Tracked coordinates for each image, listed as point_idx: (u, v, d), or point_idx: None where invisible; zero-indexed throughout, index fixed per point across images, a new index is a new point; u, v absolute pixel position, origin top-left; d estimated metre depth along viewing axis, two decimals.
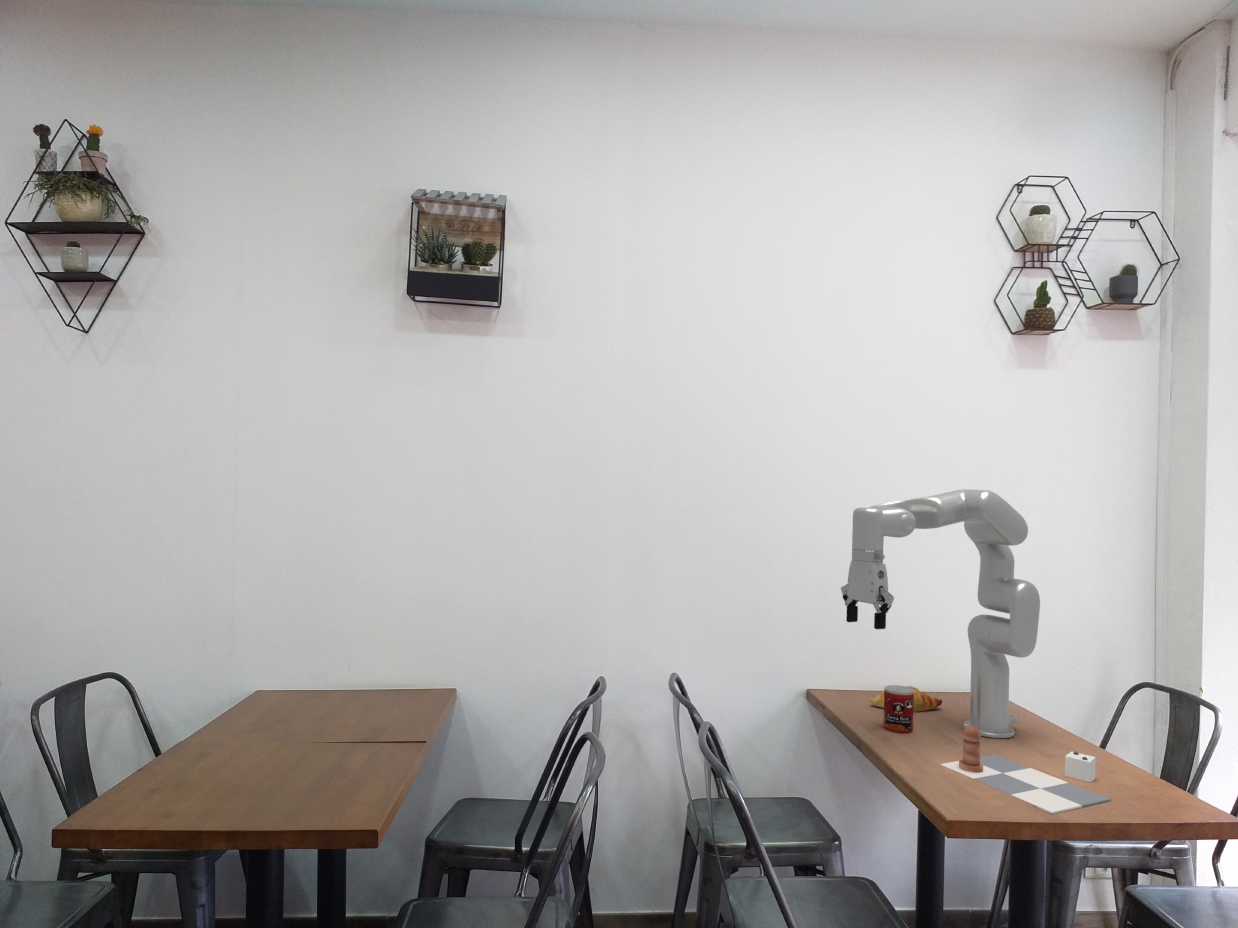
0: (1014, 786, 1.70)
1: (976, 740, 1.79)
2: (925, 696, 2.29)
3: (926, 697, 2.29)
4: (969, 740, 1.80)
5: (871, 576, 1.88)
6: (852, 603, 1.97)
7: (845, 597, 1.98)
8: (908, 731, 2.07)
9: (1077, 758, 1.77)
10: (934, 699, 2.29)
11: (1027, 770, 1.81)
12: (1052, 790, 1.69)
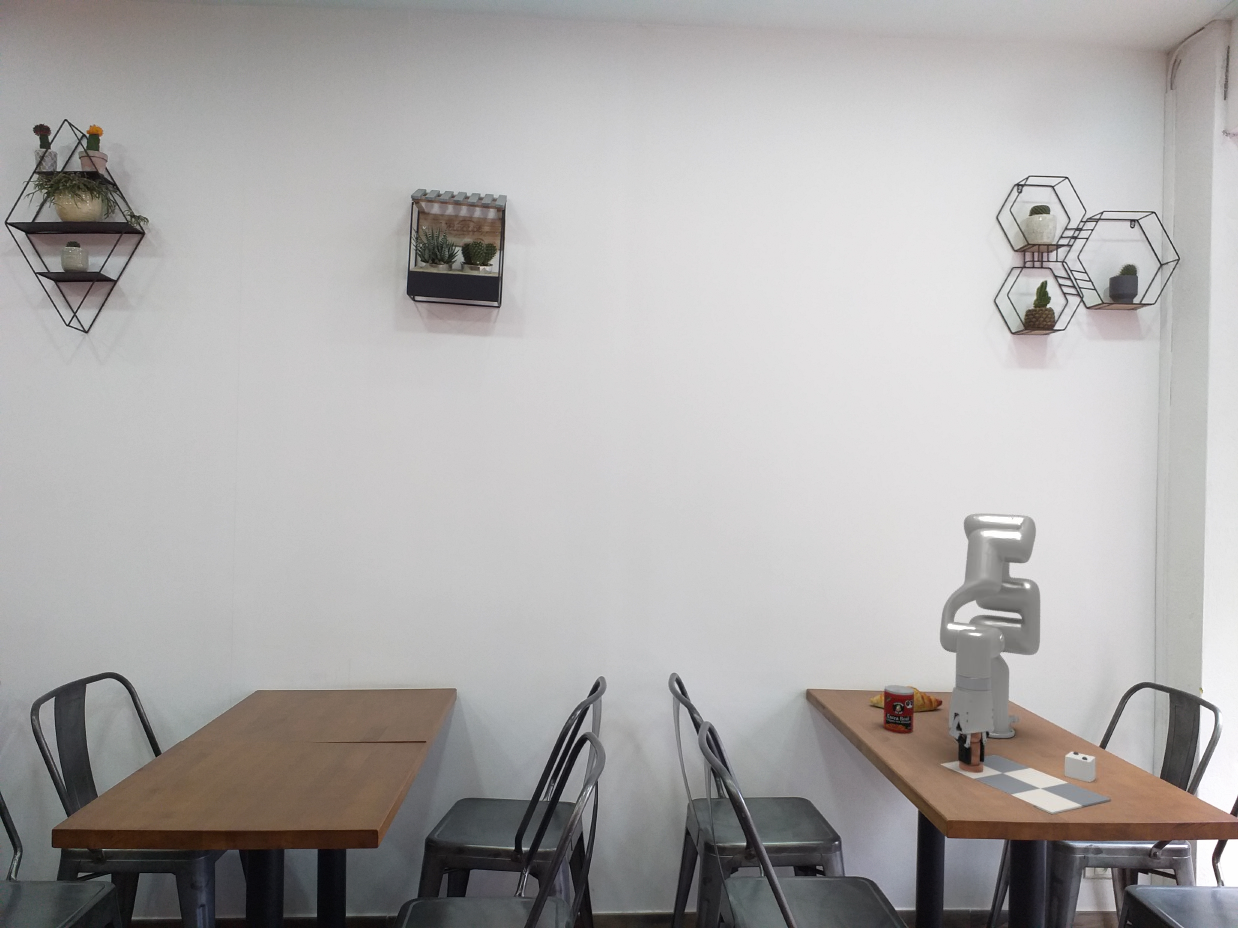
0: (1014, 786, 1.70)
1: (976, 740, 1.79)
2: (925, 696, 2.29)
3: (926, 697, 2.28)
4: None
5: (991, 702, 1.81)
6: None
7: (962, 738, 1.78)
8: (908, 731, 2.07)
9: (1077, 758, 1.77)
10: (934, 699, 2.29)
11: (1027, 770, 1.81)
12: (1052, 790, 1.69)
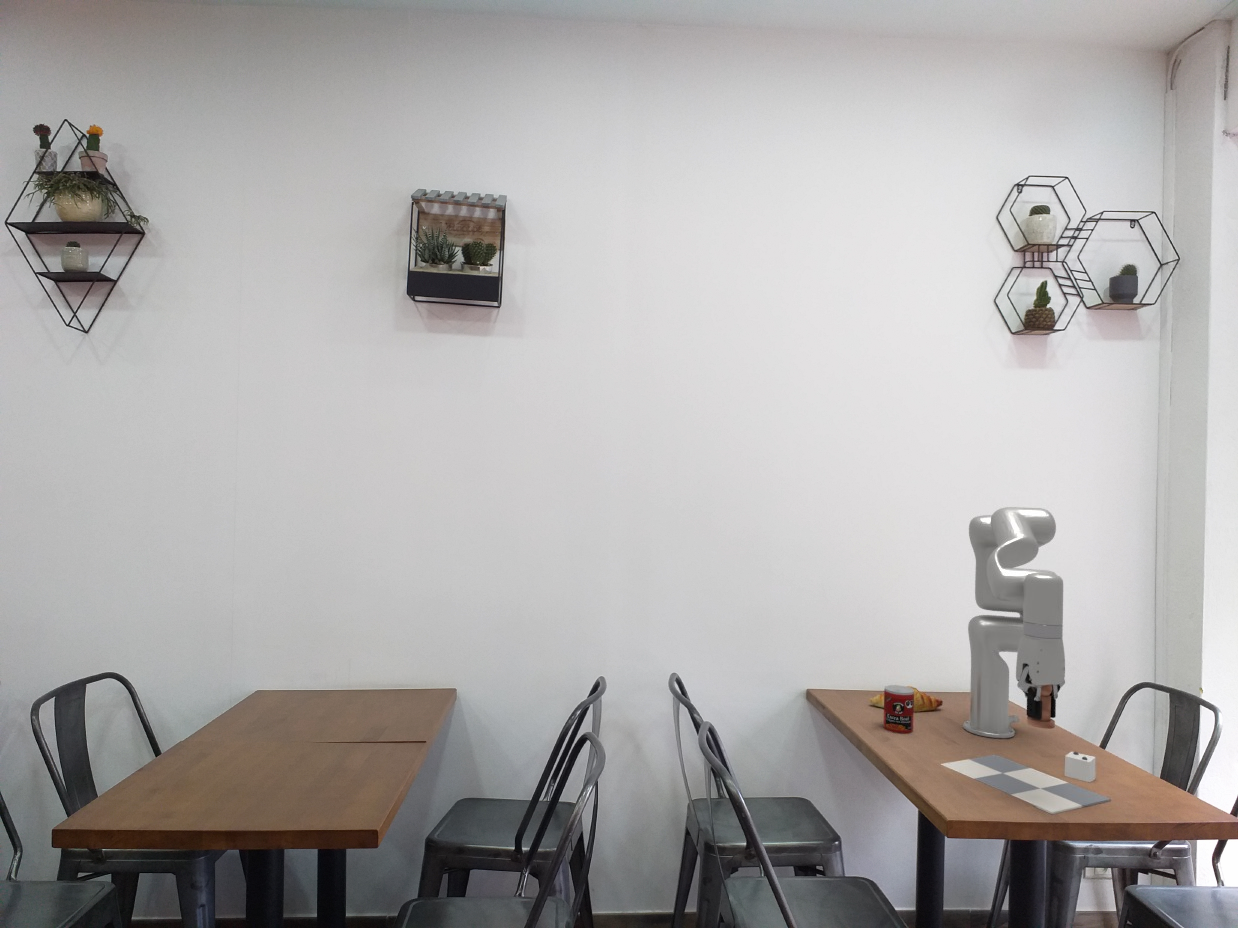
0: (1014, 786, 1.70)
1: (1047, 693, 1.64)
2: (925, 696, 2.28)
3: (926, 697, 2.28)
4: None
5: (1063, 652, 1.65)
6: None
7: (1032, 691, 1.63)
8: (908, 731, 2.07)
9: (1077, 758, 1.77)
10: (934, 700, 2.29)
11: (1027, 770, 1.81)
12: (1052, 790, 1.69)
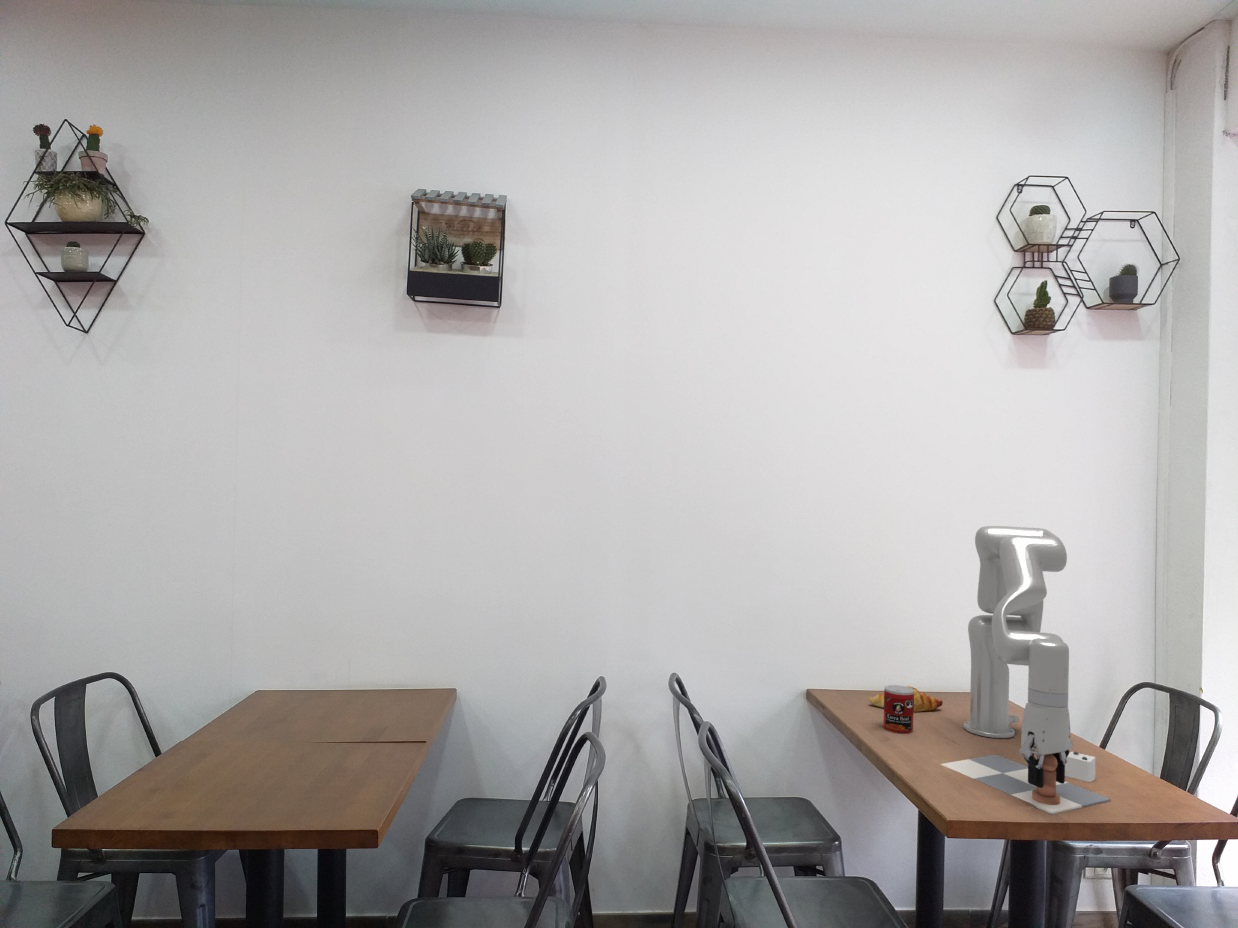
0: (1014, 786, 1.70)
1: (1052, 769, 1.62)
2: (924, 696, 2.28)
3: (925, 697, 2.28)
4: (1044, 768, 1.62)
5: (1069, 719, 1.64)
6: None
7: (1034, 759, 1.61)
8: (908, 731, 2.07)
9: (1077, 758, 1.77)
10: (934, 700, 2.29)
11: (1027, 770, 1.81)
12: None
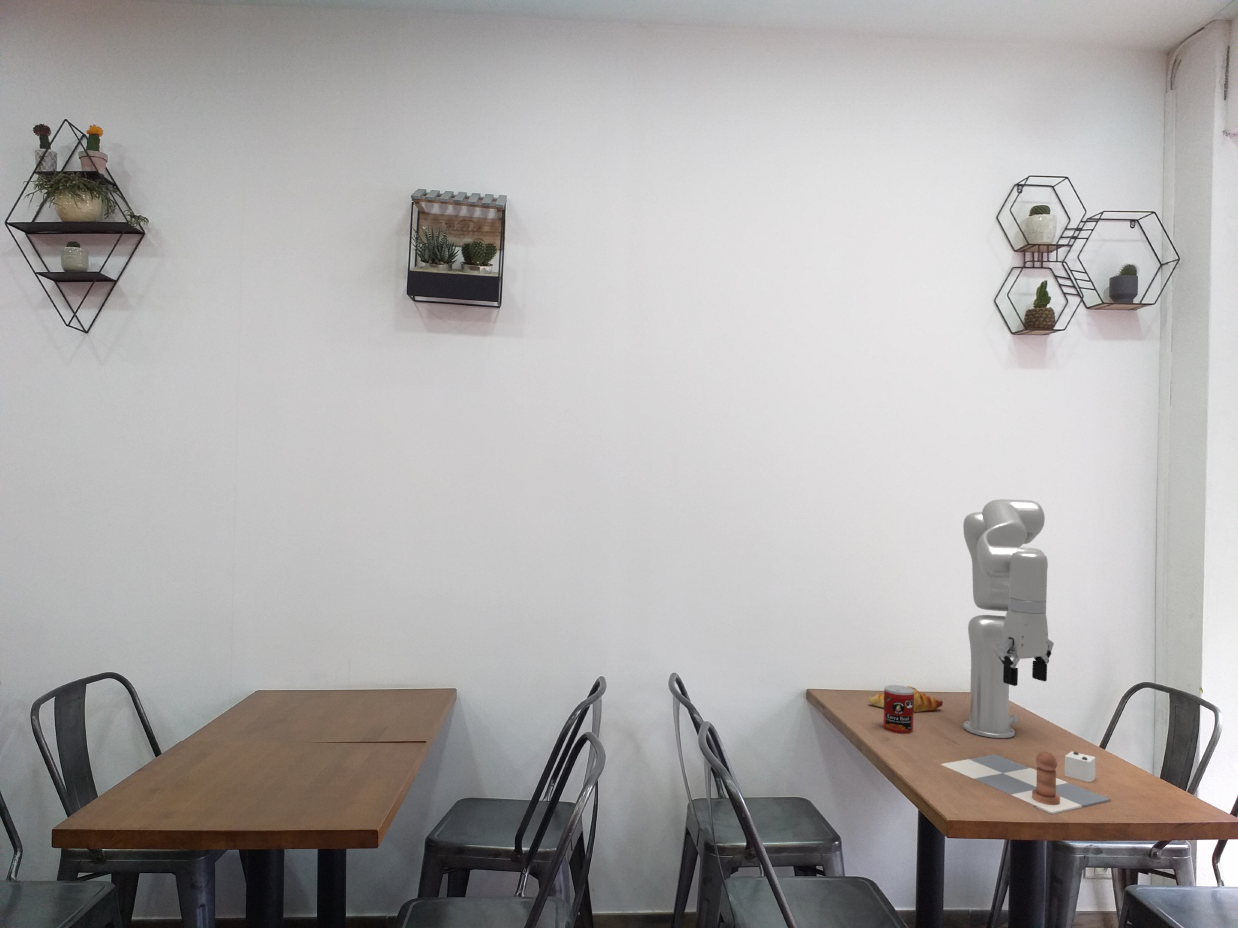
0: (1014, 786, 1.70)
1: (1052, 769, 1.62)
2: (924, 697, 2.28)
3: (925, 698, 2.28)
4: (1044, 768, 1.62)
5: (1046, 626, 1.73)
6: None
7: (1009, 659, 1.70)
8: (908, 731, 2.07)
9: (1077, 758, 1.77)
10: (934, 700, 2.28)
11: (1027, 770, 1.81)
12: None
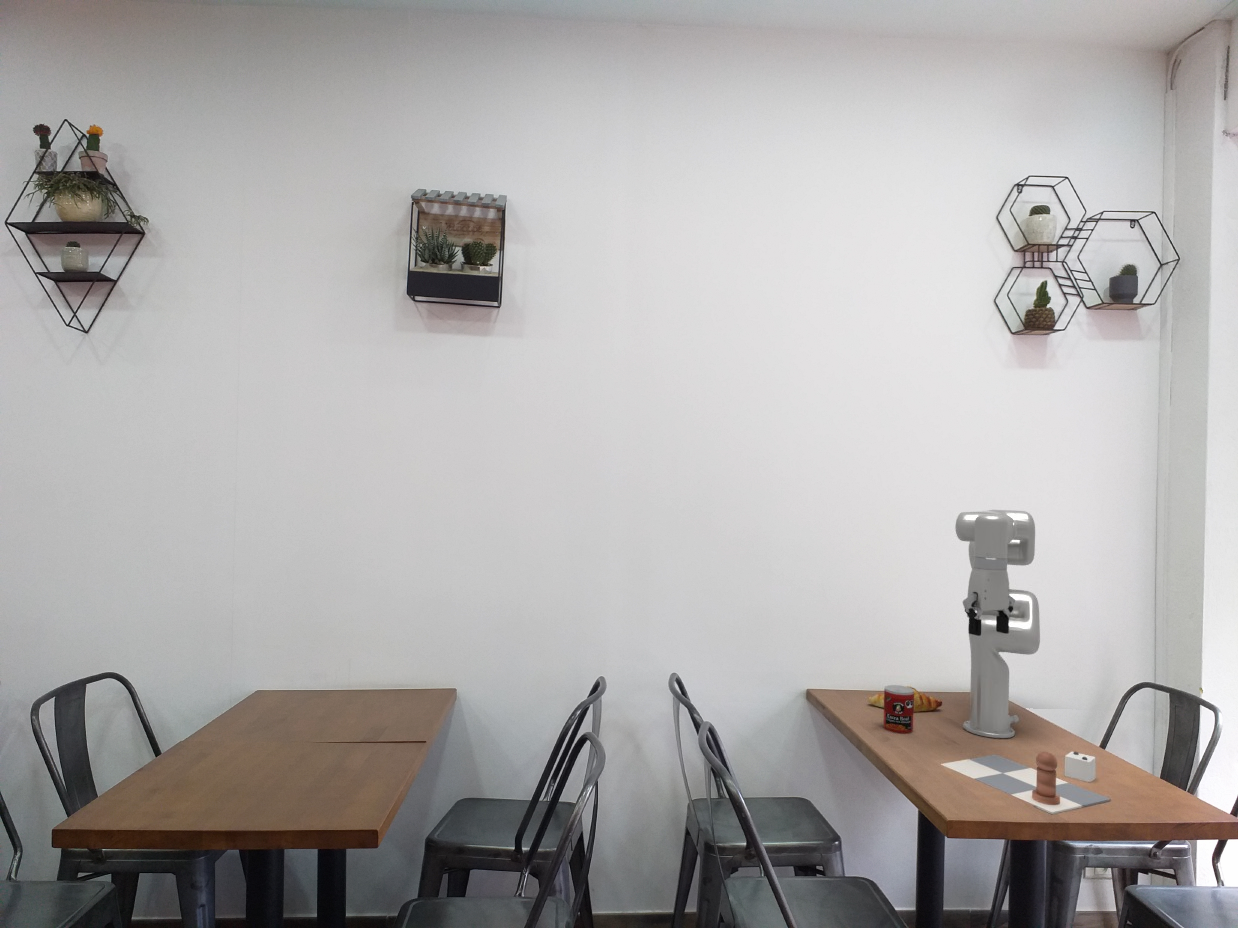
0: (1014, 786, 1.70)
1: (1052, 769, 1.62)
2: (924, 697, 2.28)
3: (924, 698, 2.28)
4: (1044, 768, 1.62)
5: (1008, 583, 1.91)
6: None
7: (973, 611, 1.88)
8: (908, 731, 2.07)
9: (1077, 758, 1.77)
10: (933, 700, 2.28)
11: (1027, 770, 1.81)
12: None
